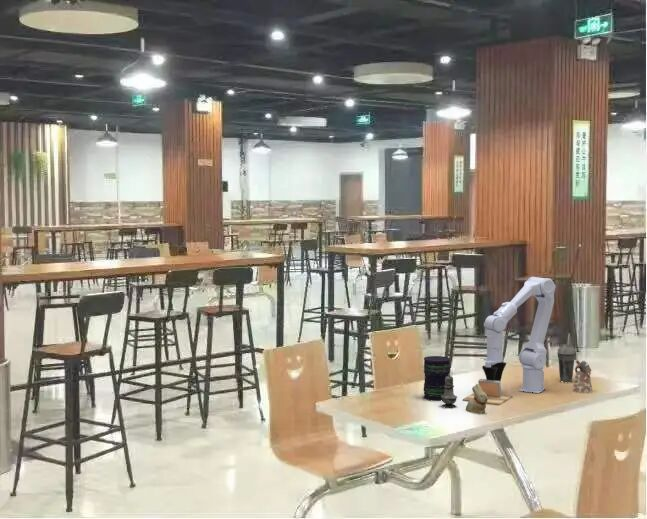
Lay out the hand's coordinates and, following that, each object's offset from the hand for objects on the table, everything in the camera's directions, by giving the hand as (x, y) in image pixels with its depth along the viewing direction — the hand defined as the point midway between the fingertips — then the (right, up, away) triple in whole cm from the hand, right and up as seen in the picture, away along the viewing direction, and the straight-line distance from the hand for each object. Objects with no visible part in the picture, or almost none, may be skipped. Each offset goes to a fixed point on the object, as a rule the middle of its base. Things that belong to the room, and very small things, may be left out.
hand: (494, 383), depth 312 cm
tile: (-2, -4, -3) cm, 5 cm away
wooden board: (-4, -5, -6) cm, 8 cm away
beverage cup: (+34, -3, +24) cm, 42 cm away
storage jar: (-22, -5, -4) cm, 23 cm away
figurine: (+36, -4, +7) cm, 37 cm away
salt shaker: (-20, -6, -17) cm, 27 cm away
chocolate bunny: (-11, -6, -24) cm, 28 cm away
